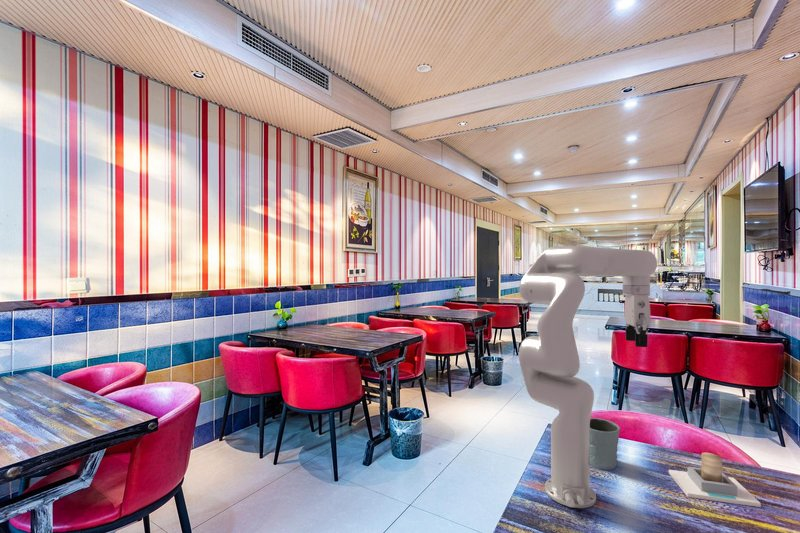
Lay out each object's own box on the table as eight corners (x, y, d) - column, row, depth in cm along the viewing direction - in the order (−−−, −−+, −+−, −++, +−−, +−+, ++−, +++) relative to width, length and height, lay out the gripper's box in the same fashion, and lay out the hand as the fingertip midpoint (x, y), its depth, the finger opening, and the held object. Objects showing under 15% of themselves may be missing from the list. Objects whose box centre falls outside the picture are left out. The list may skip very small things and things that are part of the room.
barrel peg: (725, 491, 101) (725, 461, 101) (706, 489, 102) (706, 459, 102) (716, 482, 105) (716, 453, 105) (698, 479, 107) (698, 451, 106)
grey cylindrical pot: (612, 456, 122) (612, 419, 122) (625, 473, 112) (625, 432, 112) (578, 453, 124) (578, 416, 124) (588, 469, 114) (588, 430, 114)
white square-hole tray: (760, 507, 96) (760, 493, 96) (687, 496, 100) (687, 483, 100) (733, 481, 108) (733, 468, 108) (668, 472, 112) (668, 461, 112)
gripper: (660, 292, 113) (659, 350, 113) (640, 289, 129) (639, 339, 129) (631, 292, 115) (631, 348, 115) (615, 288, 131) (615, 338, 131)
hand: (636, 343), depth 122 cm, fingers open, 9 cm apart
